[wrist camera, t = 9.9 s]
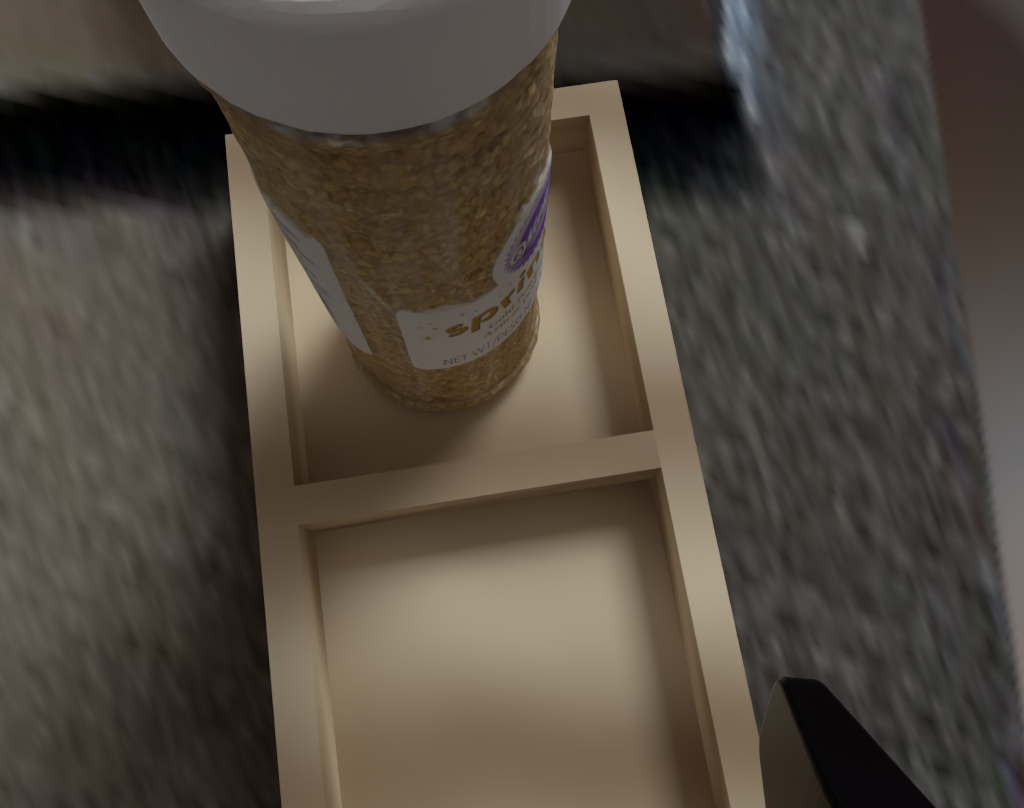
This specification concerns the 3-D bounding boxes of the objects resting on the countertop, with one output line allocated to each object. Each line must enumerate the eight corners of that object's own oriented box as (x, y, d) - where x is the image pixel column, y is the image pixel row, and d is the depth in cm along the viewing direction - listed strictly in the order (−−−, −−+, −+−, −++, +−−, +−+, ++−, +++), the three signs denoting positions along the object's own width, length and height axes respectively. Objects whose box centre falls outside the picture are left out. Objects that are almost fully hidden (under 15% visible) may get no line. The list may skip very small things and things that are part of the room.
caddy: (755, 864, 18) (794, 904, 16) (328, 939, 18) (297, 992, 15) (605, 143, 23) (617, 79, 20) (258, 192, 22) (224, 134, 20)
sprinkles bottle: (528, 426, 20) (574, 35, 7) (329, 404, 20) (-18, -27, 7) (550, 241, 21) (624, -411, 8) (361, 220, 21) (117, -457, 8)
